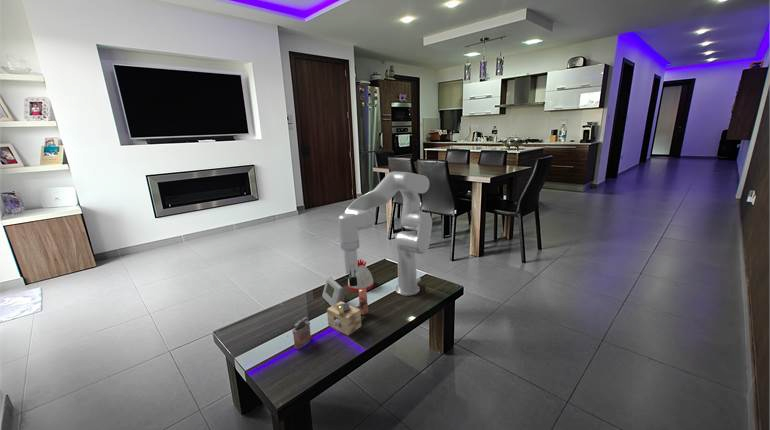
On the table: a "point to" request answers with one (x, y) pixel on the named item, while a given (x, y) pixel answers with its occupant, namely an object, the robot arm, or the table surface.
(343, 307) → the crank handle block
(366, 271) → the kitchen timer
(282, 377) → the table surface
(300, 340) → the lighter
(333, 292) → the digital clock
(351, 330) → the beige block
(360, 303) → the copper head hammer
